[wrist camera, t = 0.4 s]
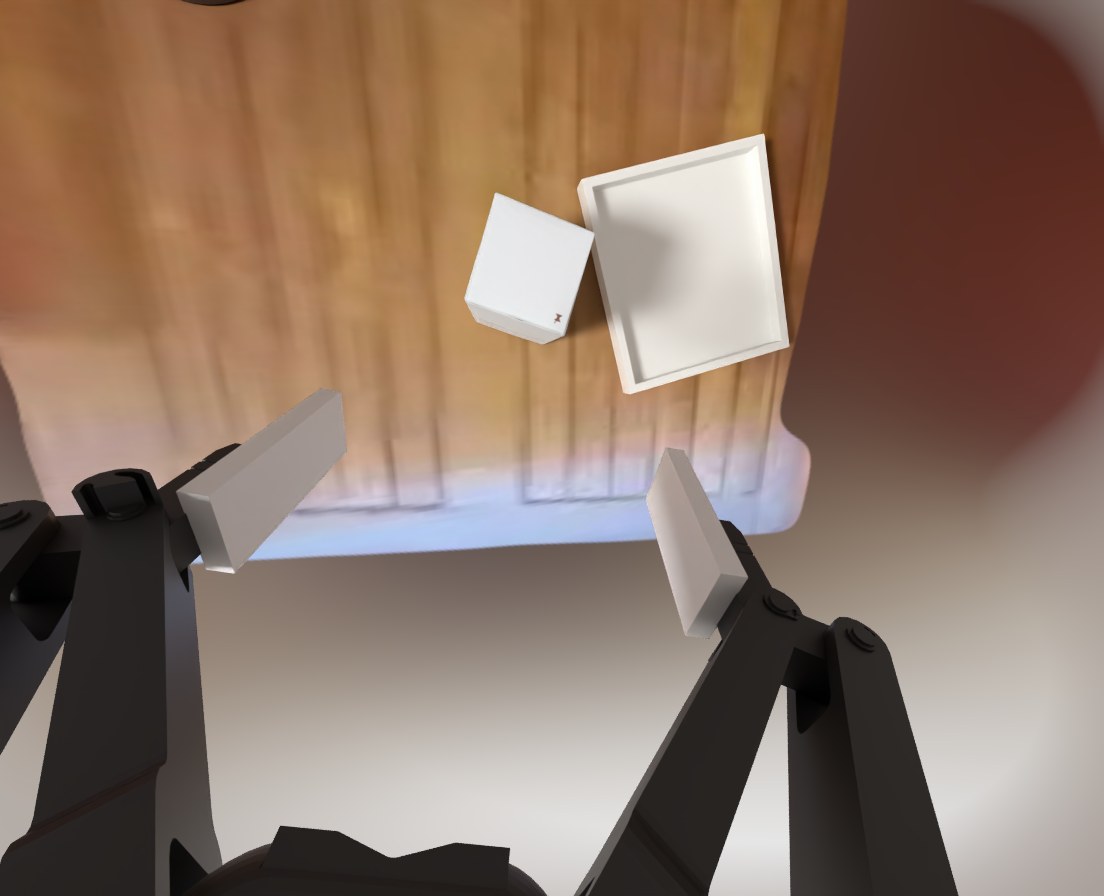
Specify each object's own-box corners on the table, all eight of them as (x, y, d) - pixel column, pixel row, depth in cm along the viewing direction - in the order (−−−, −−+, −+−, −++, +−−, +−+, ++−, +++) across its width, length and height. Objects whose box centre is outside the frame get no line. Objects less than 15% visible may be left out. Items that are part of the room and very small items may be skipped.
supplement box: (567, 273, 39) (600, 232, 27) (543, 346, 40) (565, 340, 28) (494, 244, 37) (495, 187, 25) (472, 321, 38) (462, 302, 26)
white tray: (577, 188, 37) (581, 179, 35) (750, 145, 39) (764, 133, 37) (623, 392, 42) (629, 394, 40) (776, 347, 44) (789, 346, 42)
